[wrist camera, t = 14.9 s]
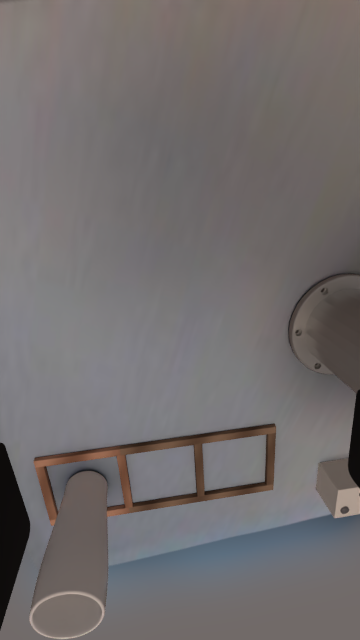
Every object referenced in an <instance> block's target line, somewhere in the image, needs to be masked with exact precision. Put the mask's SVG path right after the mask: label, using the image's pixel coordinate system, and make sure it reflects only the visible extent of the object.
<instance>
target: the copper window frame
mask: <svg viewBox="0 0 360 640" xmlns="http://www.w3.org/2000/svg"><path fill="white" fill-rule="evenodd" d="M265 434H267V441H266V471H265V482H263V483H257V484H250V485H244V486H238V487H232V488H225V489H219V490H213V491H207V492H204V474H203V454H202V444H203V443H210V442H217V441H224V440H231V439H238V438H244V437H251V436H258V435H265ZM275 438H276V426H275V424H270V425H263V426H256V427H249V428H242V429H235V430H228V431H221V432H214V433H207V434H200V435H193V436H186V437H179V438H172V439H165V440H158V441H151V442H144V443H136V444H129V445H122V446H115V447H108V448H101V449H94V450H87V451H80V452H73V453H66V454H59V455H52V456H45V457H38V458H35V459H34V464H35V468H36V472H37V475H38V479H39V483H40V486H41V490H42V493H43V497H44V501H45V504H46V508H47V511H48V515H49V519H50V522H51V526H53V525H54V524H55V521H56V518H57V515H58V511H57V507H56V503H55V500H54V496H53V492H52V488H51V484H50V480H49V477H48V473H47V469H46V466H51V465H58V464H65V463H72V462H79V461H86V460H93V459H100V458H106V457H113V456H117V460H118V466H119V472H120V479H121V485H122V491H123V497H124V503H125V505H119V506H113V507H107V517H108V516H114V515H121V514H127V513H133V512H139V511H145V510H151V509H157V508H164V507H170V506H176V505H182V504H188V503H194V502H201V501H207V500H213V499H219V498H225V497H231V496H237V495H244V494H250V493H256V492H262V491H268V490H273V483H274V460H275ZM189 445H194V456H195V472H196V489H197V493H194V494H188V495H181V496H175V497H169V498H163V499H156V500H150V501H144V502H138V503H133V502H132V495H131V489H130V482H129V476H128V469H127V462H126V456H125V455H127V454H134V453H141V452H148V451H155V450H162V449H169V448H175V447H182V446H189Z"/></svg>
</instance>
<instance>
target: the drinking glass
mask: <svg viewBox="0 0 360 640" xmlns="http://www.w3.org/2000/svg"><path fill="white" fill-rule="evenodd" d="M107 492H108V485H107V482H106V480H105V478H104V477H103V476H102V475H101V474H99V473H97V472H94V471H82V472H79V473H77V474H75V475H73V476H72V477H71V478H70V479H69V480H68V482H67V484H66V487H65V492H64V496H63V499H62V502H61V506H60V509H59V512H58V515H57V518H56V521H55V524H54V527H53V530H52V533H51V536H50V539H49V542H48V545H47V548H46V551H45V554H44V557H43V560H42V564H41V567H40V570H39V574H38V578H37V582H36V586H35V590H34V595H33V600H32V605H31V610H30V617H29V620H30V624H31V626H32V627H33V629H34V630H35V631H37V632H38V633H39V634H41V635H43V636H46V637H49V638H55V639H70V638H75V637H79V636H82V635H84V634H87V633H89V632H91V631H92V630H94V629H95V628H96V627H97V626H98V625H99V624H100V623H101V621H102V620H103V617H104V614H105V606H106V596H107V585H108V583H107V582H108V527H107Z"/></svg>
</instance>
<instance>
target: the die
mask: <svg viewBox="0 0 360 640" xmlns="http://www.w3.org/2000/svg"><path fill="white" fill-rule="evenodd" d="M348 459H349V458H346V459H340V460H333V461H327V462H320V463H319V465H318V474H317V484H316V490H317V491H318V493H319V495H320V496H321V498H322V499H323V501H324V503H325V504H326V506H327V507H328V509H329V511H330V512H331V514H332V515H333V517H334V518H338V517H344V516H350V515H356V514H360V488H359V487H358V486H357V485H356V483H355V482H354V481H353V479H352V478H351V476H350V474H349V471H348Z"/></svg>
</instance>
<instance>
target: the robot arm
mask: <svg viewBox="0 0 360 640" xmlns="http://www.w3.org/2000/svg"><path fill="white" fill-rule="evenodd" d="M289 340H290V344H291V348H292V350H293V352H294V354H295V355H296V357H297V358H298V359H299V360H300V361H301V362H302V363H303V364H304V365H305V366H306V367H308V368H309V369H311V370H313V371H315V372H318V373H322V374H335V375H336V376H337V377H338V378H339V379H341V380H342V381H343V382H344V383H345V384H346V385H347V386H349V387H350V388H351V389H352V390H353V391H354V392H355V393H356V402H355V410H354V418H353V427H352V435H351V443H350V451H349V459H348V471H349V474H350V476H351V478H352V479H353V481H354V482H355V483H356V485H357V486H358V487H359V488H360V275H357V274H341V275H337V276H333V277H330V278H328V279H326V280H324V281H322V282H320V283H318V284H317V285H315V286H314V287H313V288H311V289H310V290H309V291H308V292H307V293H306V294H305V295H304V296H303V298H302V299H301V300H300V302H299V303H298V305H297V306H296V308H295V310H294V312H293V315H292V318H291V321H290V326H289ZM29 534H30V521H29V517H28V514H27V511H26V508H25V505H24V502H23V499H22V496H21V493H20V490H19V487H18V484H17V481H16V478H15V475H14V472H13V469H12V466H11V463H10V460H9V457H8V454H7V451H6V448H5V445H4V444H3V443H0V629H1V626H2V623H3V619H4V616H5V613H6V609H7V606H8V603H9V600H10V597H11V593H12V590H13V587H14V584H15V580H16V577H17V574H18V570H19V567H20V564H21V561H22V557H23V554H24V551H25V548H26V544H27V541H28V538H29Z"/></svg>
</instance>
